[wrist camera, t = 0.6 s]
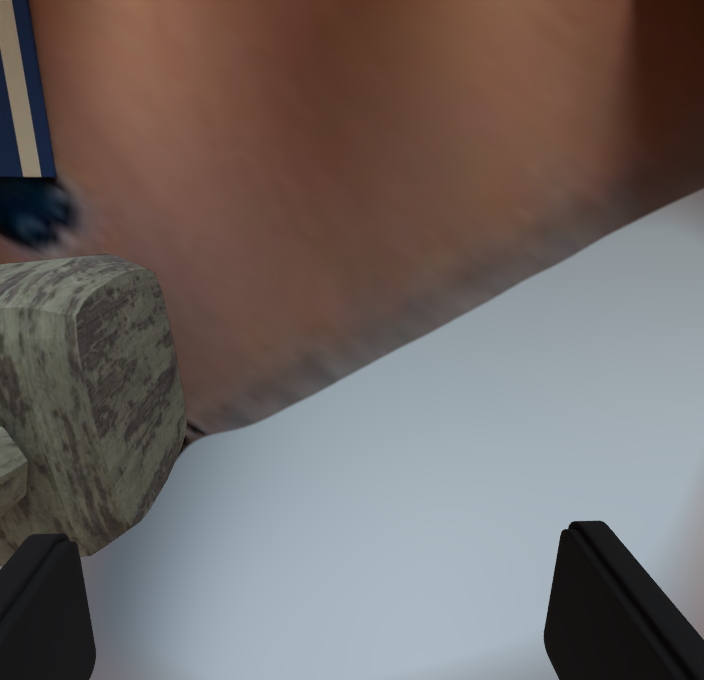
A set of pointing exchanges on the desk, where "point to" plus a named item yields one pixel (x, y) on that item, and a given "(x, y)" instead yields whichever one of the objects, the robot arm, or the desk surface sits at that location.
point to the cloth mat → (21, 98)
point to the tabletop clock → (84, 399)
